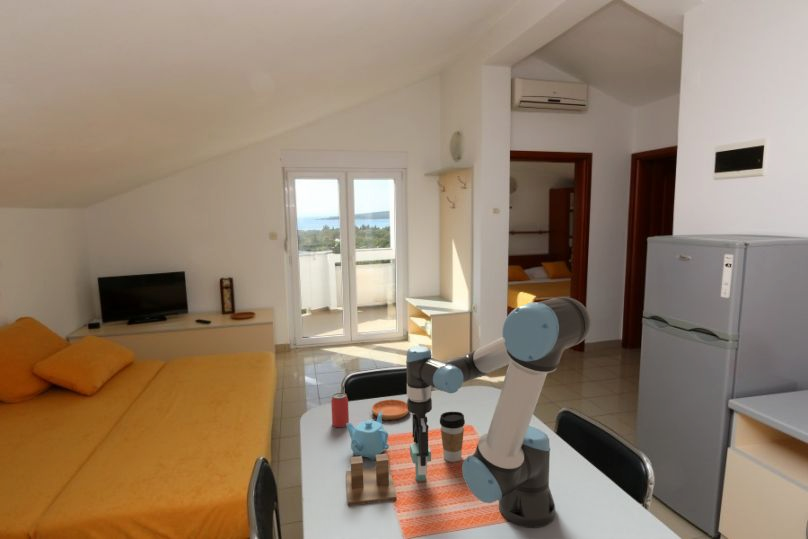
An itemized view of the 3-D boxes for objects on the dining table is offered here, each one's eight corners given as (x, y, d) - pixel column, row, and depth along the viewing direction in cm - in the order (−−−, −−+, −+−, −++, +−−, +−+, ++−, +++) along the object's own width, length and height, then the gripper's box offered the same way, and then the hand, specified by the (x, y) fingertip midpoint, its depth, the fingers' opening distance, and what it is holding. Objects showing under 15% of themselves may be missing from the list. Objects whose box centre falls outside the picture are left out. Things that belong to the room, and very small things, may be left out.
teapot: (346, 444, 162) (344, 415, 160) (383, 439, 165) (382, 409, 164) (352, 467, 147) (351, 435, 146) (393, 460, 151) (392, 429, 149)
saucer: (392, 402, 198) (392, 395, 198) (418, 413, 186) (417, 406, 186) (364, 413, 187) (363, 406, 187) (389, 426, 176) (388, 419, 175)
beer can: (352, 422, 179) (351, 394, 177) (341, 429, 173) (340, 400, 172) (339, 419, 182) (338, 390, 181) (328, 425, 177) (327, 396, 175)
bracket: (396, 499, 130) (395, 470, 129) (348, 505, 128) (347, 476, 127) (389, 469, 146) (388, 443, 145) (346, 473, 144) (345, 447, 142)
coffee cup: (464, 465, 147) (463, 421, 145) (438, 462, 149) (438, 419, 147) (465, 451, 155) (465, 410, 154) (441, 449, 157) (441, 408, 155)
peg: (431, 482, 138) (431, 451, 137) (413, 484, 137) (413, 453, 136) (427, 472, 143) (427, 442, 142) (410, 474, 143) (409, 444, 141)
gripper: (438, 409, 128) (439, 484, 131) (425, 385, 147) (426, 451, 150) (412, 411, 127) (414, 487, 130) (402, 386, 146) (403, 453, 148)
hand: (420, 468), depth 140 cm, fingers closed on peg, 6 cm apart
